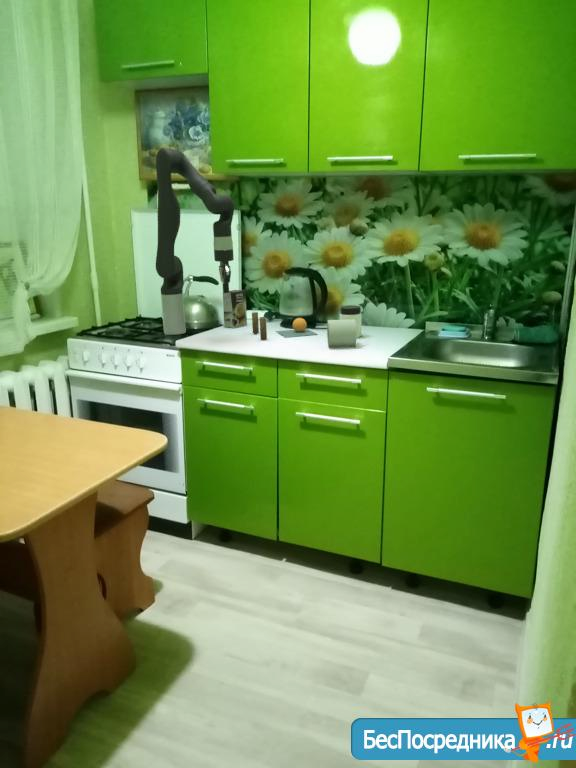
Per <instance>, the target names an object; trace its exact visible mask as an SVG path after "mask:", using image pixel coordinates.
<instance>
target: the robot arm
mask: <svg viewBox="0 0 576 768" xmlns="http://www.w3.org/2000/svg"><path fill="white" fill-rule="evenodd" d="M155 157H156V158H155V171H156V180H157V181H156V182H157V183H156V184H157V247H156V257H155V271H156V273H157V275H158V276H159V277H160V278H162V279H163V282H162V285H161V287H160V298H161V307H162V310H161V315H162V324H163V325H162V326H163V327H162V328H163V333H164V335H165V336H168V335H169V336H172V335H173V336H174V335H182V334H185V333H186V332H187V330H186V329H187V328H186V317H185V315H186V314H185V305H184V292H183V291H184V290H183V289H184V285H185V284H184V283H185V281H184V280H185V279H184V266H183V262H182V260H181V258H179V256H177V255H175V243H176V239H177V237H178V233H179V230H180V226H181V205H180V203H179V200H178V198H177V196H176V194H175V191H174V188H173V185H172V174H178V175H179V176H181V177H183V178H184V179H185V180H186V181H187V184H188V187H189V189H190V190H191V191H192V193H193V194H195V195H196V196H197V197H198V198H199V199H200V200H201V201H202V203H203V204H204V206H205V208H206V210H207V211H208V212H210V213H211V214H212V215H219V219H218V220H216V221H214V222H213V225H212V229H213V233H212V234H213V255H214V259H213V260H214V261H215V262H219V266H218V271H219V272H218V273H219V277H220V281H221V283H222V294H223V293H229V291H230V287H229V285H230V282H231V275H232V270H231V265H230V263H229V262H231V261H234V243H233V235H232V223H233V217H234V212H235V203H234V200H233V198H232V197H231V196H230V195H224V194H223V195H221V194H220V195H218V194H217V189H216V187H215V186H214V185H212V183H210V181H208V180H207V179H206V178H205V177H204V176H203V175H202V174H201V173H200V172H199V171H198V170H197V169H196V167H195V166H194V165H193V164H192V163H191V162H190V160H189V158H188V157H187V156H186V155H185V154H184V153H183V152H182V151H181V150H179V149H176V148H168V147H167V148H166V147H161V148H159V150H157V153H156V156H155Z"/></svg>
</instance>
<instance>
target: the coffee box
mask: <svg viewBox="0 0 576 768" xmlns="http://www.w3.org/2000/svg"><path fill="white" fill-rule="evenodd" d="M246 294H247V293H246V290H245V289H234V290H229V293H223V292H222V306H223V309H222V310H223V323H224V324H223V325H224V326H223V327H224V328H228V327H231V329H237V328H241V327H240V326H242V327H244V326H243V325H246V326H248V317H247V316H248V315H247V314H248V313H247V296H246ZM236 327H237V328H236Z"/></svg>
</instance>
